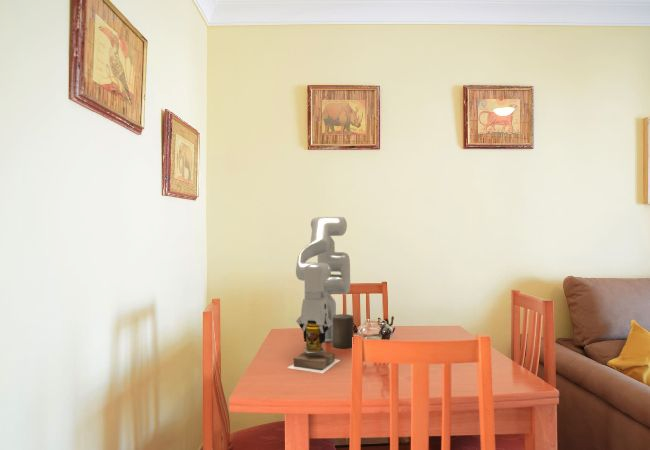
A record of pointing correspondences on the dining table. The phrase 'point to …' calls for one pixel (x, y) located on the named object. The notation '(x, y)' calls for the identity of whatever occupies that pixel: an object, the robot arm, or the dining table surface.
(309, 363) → the plinth
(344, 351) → the dining table surface
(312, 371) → the base board
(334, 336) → the pillar candle
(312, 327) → the condiment
